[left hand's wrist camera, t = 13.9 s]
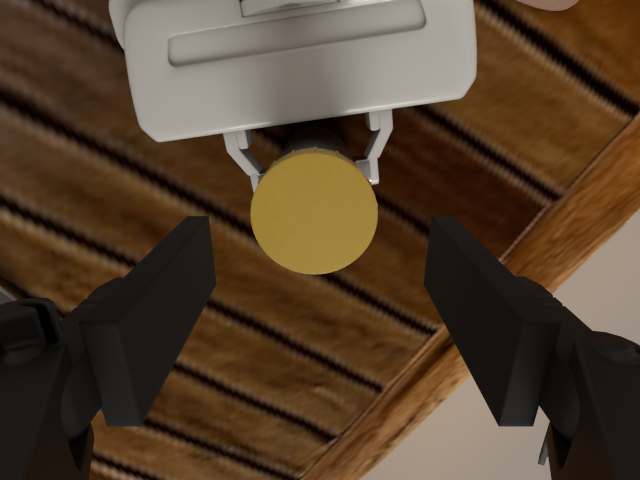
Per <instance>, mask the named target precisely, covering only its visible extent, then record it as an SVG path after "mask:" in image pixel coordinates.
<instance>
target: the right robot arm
mask: <svg viewBox="0 0 640 480" xmlns="http://www.w3.org/2000/svg"><path fill="white" fill-rule="evenodd" d="M109 12H110V16H111V19H112V23H113V26H114V30H115V33H116V36H117V39H118V41H119V43H120V45H121V47H122V48H123V50H124V51H125V59H126V66H127V73H128V79H129V84H130V90H131V95H132V99H133V104H134V108H135V112H136V116H137V120H138V123H139V125H140V127H141V129H142V130H143V131H144V132H146V133H147V134H148V135H149V136H150V137H151V138H152V139H154V140H155V141H157V142H165V141H172V140H179V139H186V138H193V137H199V136H206V135H213V134H220V133H223V136H224V140H225V144H226V149H227V152H228V153H229V154H230V156H231V157H232V158H233V159H234V160H235V161H236V162H237V163H238V165H239V166H240V167H241V168H242V169H243V170H244V171H245V173H246V174H247V175H250V177H251V182H252V187H253V192H255V190H256V188H257V186H258V183H257V182H258V180H259V179H260V177H263V176H264V174H265V173H266V171H267V170H268V169H269V168H266V169H263V167H262V166H261V165H260V164H259V162H258V161H257V160H256V158H255V157H254V156H253V155H252V153H251V152H250V151H249V150H248V147H249V146H250V145H252V143H253V138H252V132H251V129H255V128H262V127H269V126H276V125H283V124H289V123H296V122H303V121H310V120H317V119H324V118H331V117H338V116H345V115H352V114H359V113H365V116H366V126H367V127H368V128H370V129H371V130H372V131H374V132H373V134H372V136H371V139H370V141H369V143H368V146H367V148H366V150H365V153H364V155H360V156H354V157H352V158H353V162H356V163H357V165H358V166H359V168H360V170H361V171H362V172H363V173H364V175H365V177H366V178H367V179H368V178H369V180H370V182H371V184H378V183H379V175H378V162H377V158H378V157H379V156H380V154H381V152H382V150H383V148H384V146H385V144H386V142H387V140H388V138H389V135H390V133H391V131H392V129H393V123H392V109H393V108H400V107H407V106H414V105H421V104H428V103H435V102H442V101H449V100H455V99H460V98H462V97H463V96H464V95H465V94H466V93H467V91H468V90H469V88H470V87H471V85H472V83H473V82H474V80H475V77H476V71H477V40H476V24H475V12H474V4H473V0H109Z"/></svg>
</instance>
